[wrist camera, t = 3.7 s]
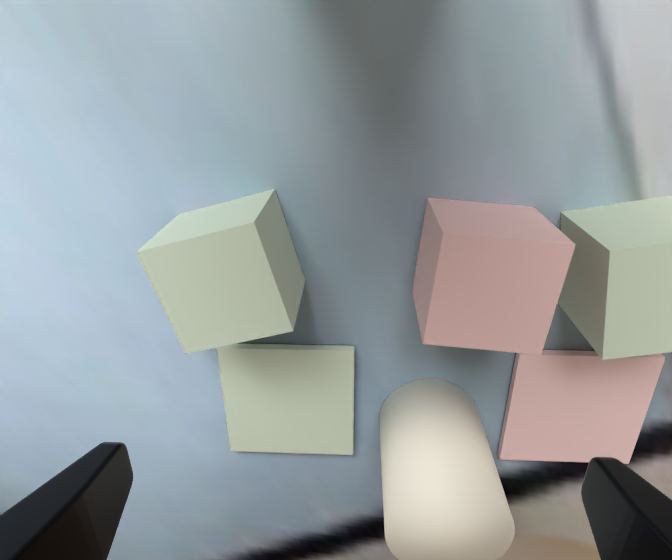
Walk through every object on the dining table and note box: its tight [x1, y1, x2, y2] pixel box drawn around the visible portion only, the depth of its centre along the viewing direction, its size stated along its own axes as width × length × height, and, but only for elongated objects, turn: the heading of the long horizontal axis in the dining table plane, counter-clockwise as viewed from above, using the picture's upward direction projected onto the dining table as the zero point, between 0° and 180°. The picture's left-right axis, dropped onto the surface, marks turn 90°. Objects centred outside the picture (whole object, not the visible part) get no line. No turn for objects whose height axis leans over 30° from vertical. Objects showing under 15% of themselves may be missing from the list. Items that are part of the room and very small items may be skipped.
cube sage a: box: [559, 195, 672, 360], centre depth 17 cm, size 4×4×4 cm
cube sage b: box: [136, 189, 305, 354], centre depth 18 cm, size 4×4×4 cm
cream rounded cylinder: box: [379, 379, 515, 560], centre depth 20 cm, size 5×5×6 cm
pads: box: [217, 343, 666, 464], centre depth 22 cm, size 6×19×1 cm, turn 90°
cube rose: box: [412, 197, 576, 355], centre depth 17 cm, size 4×4×4 cm
